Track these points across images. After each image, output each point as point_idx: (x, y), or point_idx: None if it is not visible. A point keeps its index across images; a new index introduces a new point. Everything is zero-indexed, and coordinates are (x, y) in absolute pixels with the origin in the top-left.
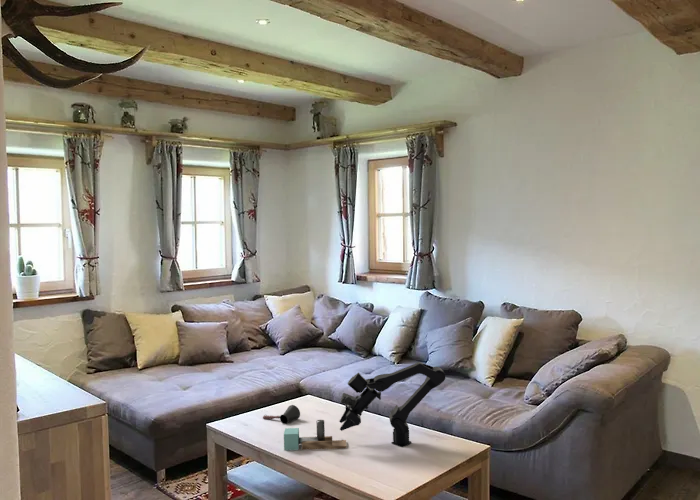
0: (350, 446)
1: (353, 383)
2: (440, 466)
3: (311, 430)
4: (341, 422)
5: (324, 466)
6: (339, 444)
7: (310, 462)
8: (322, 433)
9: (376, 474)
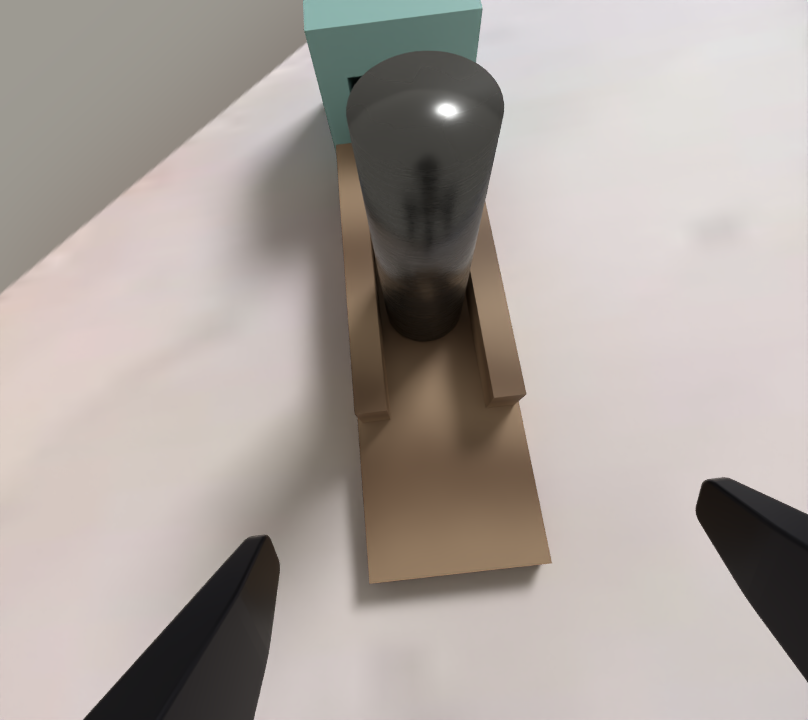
0: (428, 625)
1: None
2: None
3: (781, 186)
4: (703, 525)
5: None
6: (411, 495)
7: (94, 289)
8: (382, 269)
9: None
